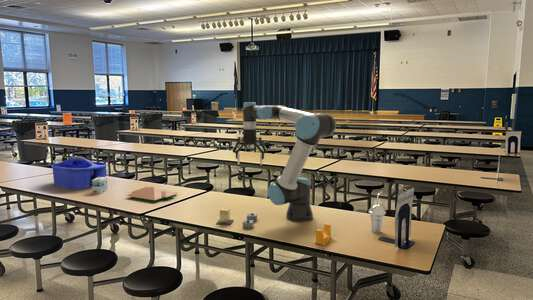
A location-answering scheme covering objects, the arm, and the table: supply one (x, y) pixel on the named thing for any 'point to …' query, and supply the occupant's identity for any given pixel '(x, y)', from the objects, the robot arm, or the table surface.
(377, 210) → the cup with straw
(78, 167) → the caddy
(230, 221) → the rubber mat
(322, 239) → the pipe clamp
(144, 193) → the house
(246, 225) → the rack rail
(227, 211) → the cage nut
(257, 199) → the table surface
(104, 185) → the light bulb box
